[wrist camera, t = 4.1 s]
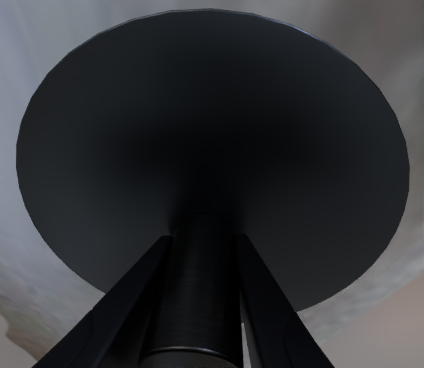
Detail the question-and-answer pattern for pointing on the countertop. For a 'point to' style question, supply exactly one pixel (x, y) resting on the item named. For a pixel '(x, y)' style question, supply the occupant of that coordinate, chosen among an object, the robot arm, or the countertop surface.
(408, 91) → the countertop surface
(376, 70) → the countertop surface
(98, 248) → the tin lid
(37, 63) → the countertop surface
